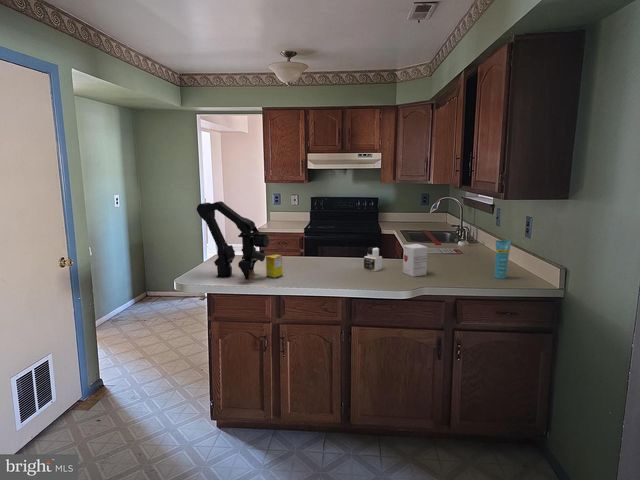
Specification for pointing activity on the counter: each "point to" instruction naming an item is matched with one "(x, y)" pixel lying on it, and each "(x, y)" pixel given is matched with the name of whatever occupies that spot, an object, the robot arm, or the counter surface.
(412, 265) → the supplement box
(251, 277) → the walnut cube
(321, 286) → the counter surface
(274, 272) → the supplement box
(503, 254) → the tube
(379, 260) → the medicine bottle
